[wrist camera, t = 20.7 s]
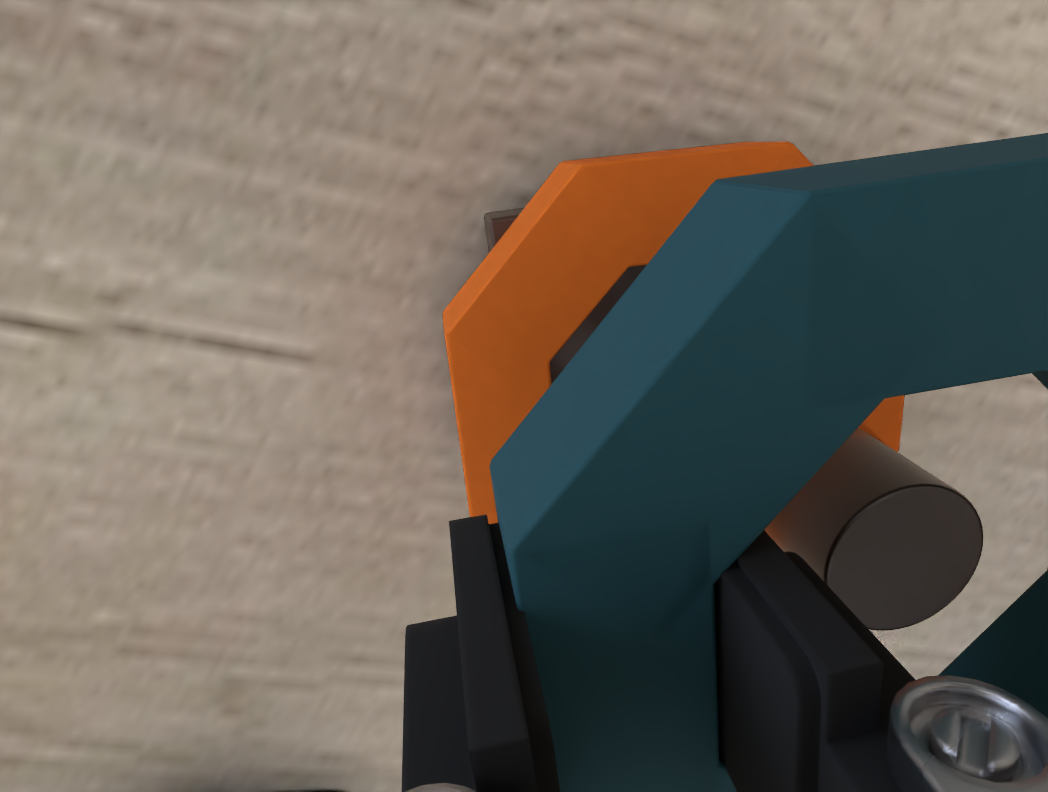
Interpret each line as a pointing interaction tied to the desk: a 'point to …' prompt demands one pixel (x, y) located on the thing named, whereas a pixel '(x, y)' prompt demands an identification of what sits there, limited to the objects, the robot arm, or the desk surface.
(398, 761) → the desk surface
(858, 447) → the peg stand
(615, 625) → the teal ring
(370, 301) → the desk surface
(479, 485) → the orange ring
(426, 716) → the robot arm
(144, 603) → the desk surface
